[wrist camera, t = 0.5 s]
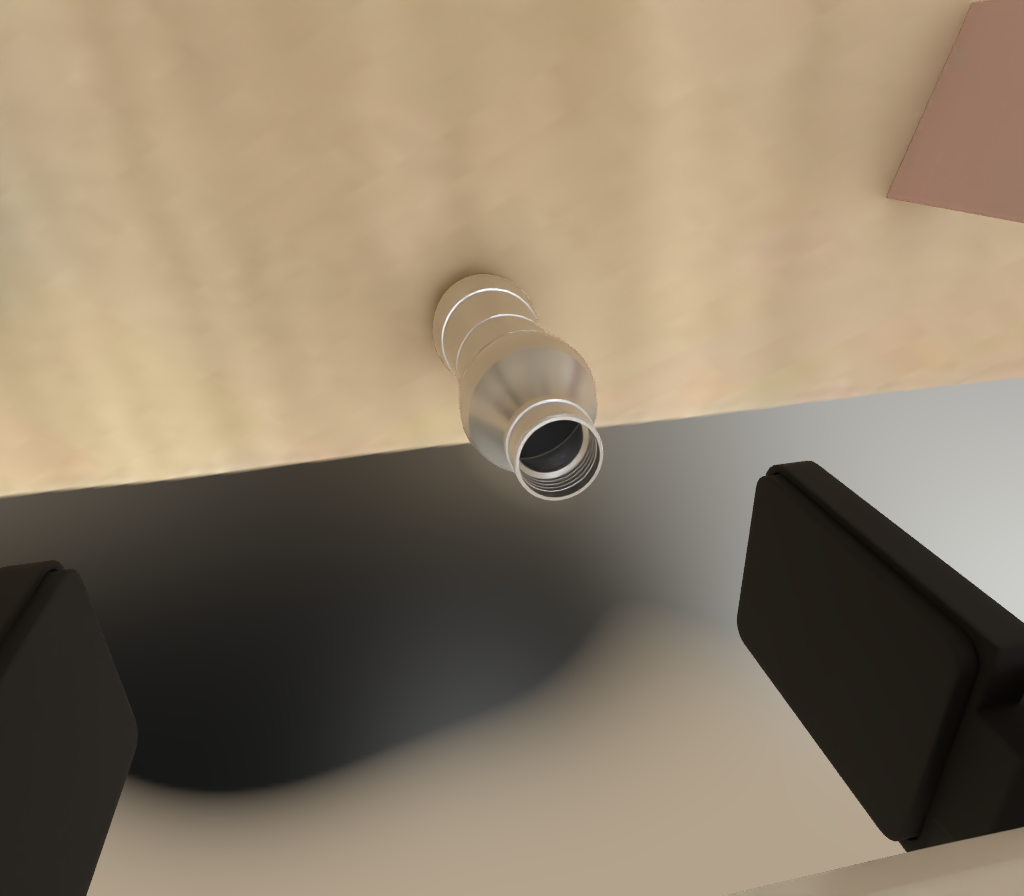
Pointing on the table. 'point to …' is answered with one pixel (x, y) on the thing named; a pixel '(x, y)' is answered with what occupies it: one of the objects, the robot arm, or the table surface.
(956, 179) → the greeting card
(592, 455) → the plastic bottle
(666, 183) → the table surface
